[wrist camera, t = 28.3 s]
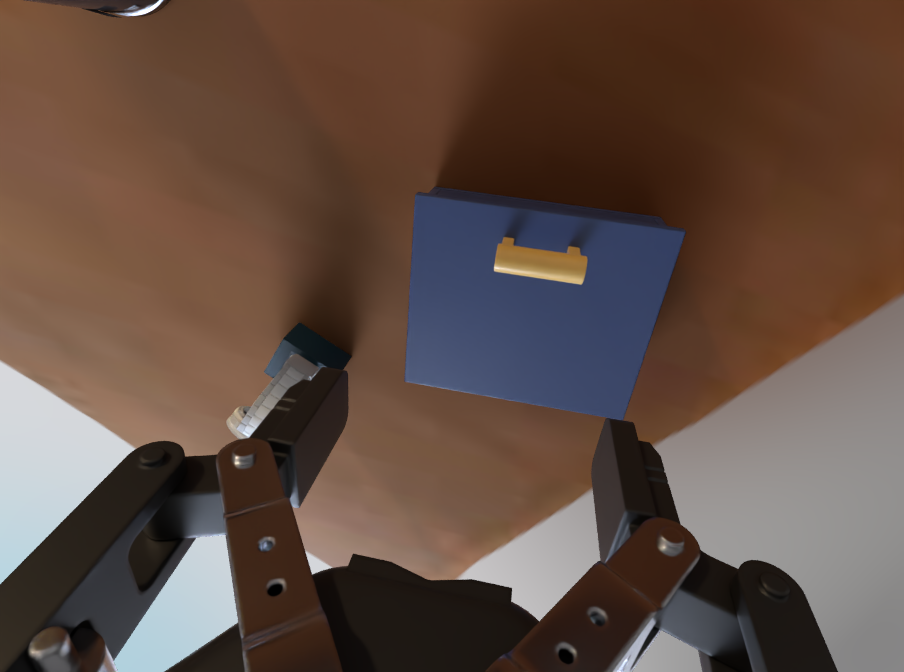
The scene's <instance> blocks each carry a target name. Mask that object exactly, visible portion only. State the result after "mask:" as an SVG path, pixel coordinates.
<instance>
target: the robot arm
mask: <svg viewBox="0 0 904 672" xmlns="http://www.w3.org/2000/svg"><path fill="white" fill-rule="evenodd" d="M25 1H33V2H40V3H48V4H55V5H62V6H70V7H77V8H82V9H86V10H89V11H93V12H96V13H99V14H103V15H106V16H111V17H118V16H115V15H111V14H108V13H104V12H110V13H116V14H119V15H126V16H137V17H139V16H146V15H150V14H153V13H155V12H157V11H159V10H160V9H162V8H163V7H164V6H165V5H166V4H167V3H168V2H169V1H170V0H25ZM98 10H101V11H103V12H101V11H98ZM119 18H121V17H119ZM347 417H348V374H347V371H345V370H339V369H334V368H328V367H322V368H321V369H320V370H319V371H318V373H317V374H316V375H315V377H314V378H313V379H312V380H311V381H310V380H305V379H303V380H301V381H300V382H298V383H296V384H294V385H293V386H291V387H289V389H288V390H287V391H286V392H285V394H284V395H283V396H282V397H281V400H279V401H278V402H277V404H276V405H275V406H274V409H272V410H271V411H270V412H269V413H268V415H267V416H266V417H265V418H264V420H263V421H262V422H261V423H260V424H259V426H258V427H257V428H256V429H255V431H254V432H253V433H252V434H251V436H250V437H249V438H244V439H240V440H236V441H234V442H231V443H229V444H228V445H226V446H225V447H223V448H222V449H221V450H220V452H219V453H218V455H207V456H188V457H185V454H184V450H183V448H182V447H181V446H180V445H179V444H177V443H174V442H170V441H158V442H153V443H149V444H146V445H143V446H141V447H139V448H137V449H135V450H134V451H132V452H131V453H130V454H129V455H128V456H127V457H126V458H125V459H124V460H123V461H122V462H121V463H120V464H119V465H118V466H117V467H116V468H115V469H114V470H113V471H112V472H111V473H110V474H109V475H108V476H107V477H106V478H105V479H104V480H103V481H102V482H101V483H100V484H99V485H98V486H97V487H96V488H95V489H94V490H93V491H92V492H91V493H90V494H89V495H88V496H87V497H86V498H85V499H84V500H83V501H82V502H81V503H80V504H79V505H78V506H77V507H76V508H75V509H74V510H73V511H72V512H71V513H70V514H69V516H67V517H66V519H64V520H63V522H61V523H60V524H59V525H58V527H57V528H56V529H55V530H54V531H53V532H52V533H51V534H50V535H49V536H48V537H47V538H46V539H45V540H44V541H43V542H42V543H41V544H40V545H39V546H38V547H37V548H36V549H35V550H34V551H33V552H32V553H31V554H30V555H29V556H28V557H27V558H26V559H25V560H24V561H23V562H22V563H21V564H20V565H19V566H18V567H17V568H16V569H15V570H14V571H13V572H12V573H11V574H10V575H9V576H8V577H7V578H6V579H5V580H4V581H3V582H2V583H1V584H0V672H118V671H117V668H116V666H115V664H114V659H115V658H116V656H117V655H118V653H119V652H120V651H121V649H122V648H123V646H124V644H125V643H126V642H127V640H128V639H129V637H130V636H131V634H132V633H133V631H134V630H135V628H136V627H137V625H138V623H139V622H140V621H141V619H142V618H143V616H144V615H145V613H146V612H147V610H148V609H149V607H150V605H151V604H152V603H153V601H154V600H155V598H156V597H157V595H158V594H159V592H160V591H161V589H162V588H163V586H164V585H165V583H166V582H167V580H168V578H169V577H170V576H171V574H172V573H173V571H174V570H175V569H176V567H177V566H178V564H179V563H180V561H181V560H182V558H183V557H184V555H185V554H186V552H187V550H188V549H189V548H190V546H191V545H192V543H193V542H194V540H195V539H196V537H207V536H219V535H226V541H227V548H228V555H229V562H230V568H231V575H232V582H233V588H234V596H235V603H236V609H237V616H238V623H237V624H235V625H234V626H232V627H231V628H229V629H228V630H226V631H225V632H223V633H222V634H220V635H219V636H217V637H216V638H215V639H213V640H211V641H210V642H208V643H207V644H205V645H204V646H202V647H201V648H199V649H198V650H196V651H195V652H193V653H192V654H190V655H189V656H187V657H186V658H184V659H183V660H181V661H180V662H179V663H177V664H175V665H174V666H172V667H171V668H169V669H168V670H166V671H165V672H632V671H633V670H634V668H635V667H636V665H637V664H638V663H639V661H640V660H641V658H642V657H643V655H644V654H645V653H646V651H647V650H648V648H649V647H650V646H651V644H652V643H653V641H654V640H655V638H656V637H657V636H658V634H659V633H660V631H661V630H662V631H664V632H666V633H668V634H670V635H671V636H673V637H675V638H677V639H679V640H681V641H683V642H685V643H687V644H688V645H690V646H692V647H694V648H696V649H698V652H699V657H700V662H701V666H702V671H703V672H838V671H837V668H836V666H835V664H834V661H833V659H832V657H831V654H830V652H829V650H828V647H827V645H826V643H825V640H824V638H823V636H822V634H821V631H820V629H819V626H818V624H817V622H816V619H815V617H814V615H813V612H812V610H811V608H810V606H809V603H808V601H807V599H806V596H805V594H804V592H803V590H802V589H801V588H800V586H799V585H798V584H797V583H796V582H795V580H793V579H792V578H791V577H790V576H789V575H788V574H787V573H785V572H784V571H782V570H781V569H779V568H777V567H776V566H774V565H771V564H769V563H766V562H763V561H758V560H750V561H746V562H744V563H743V564H741V566H740V567H739V569H737V568H735V567H732V566H730V565H728V564H726V563H724V562H721V561H719V560H717V559H715V558H713V557H711V556H709V555H707V554H706V553H704V552H702V551H701V550H700V547H699V544H698V542H697V540H696V539H695V537H694V536H693V535H692V534H691V533H690V532H689V531H688V530H687V529H686V528H684V527H683V526H682V525H680V521H679V518H678V514H677V511H676V508H675V504H674V501H673V497H672V494H671V490H670V488H669V484H668V480H667V477H666V473H664V467H663V463H662V460H661V456H660V455H659V454H658V453H657V451H656V450H655V449H654V448H653V446H652V445H651V444H650V443H649V442H643V441H638V437H637V433H636V429H635V425H634V423H633V422H628V421H623V420H617V419H611V418H607V419H606V420H605V422H604V425H603V429H602V432H601V435H600V438H599V441H598V444H597V448H596V451H595V454H594V458H593V462H592V486H593V495H594V503H595V513H596V522H597V532H598V540H599V550H600V558H601V561H598V562H597V563H596V564H594V565H593V566H592V568H590V569H589V571H588V572H587V573H586V574H585V575H584V576H583V577H582V578H581V579H580V580H579V581H578V582H577V583H576V584H575V585H574V586H573V587H572V588H571V589H570V590H569V591H568V592H567V594H565V595H564V596H563V598H562V599H561V600H560V601H559V602H558V603H557V604H556V605H555V606H554V607H553V608H552V609H551V610H550V611H549V612H548V613H547V614H546V615H545V616H544V617H543V618H542V619H541V620H540V621H538V620H537V619H536V618H535V617H534V616H533V615H531V614H530V613H529V612H528V611H526V610H525V609H523V608H522V607H520V606H519V605H517V604H515V603H513V602H511V595H512V588H509V587H504V586H500V585H495V584H491V583H486V582H481V581H477V580H472V579H469V580H427V579H425V578H423V577H421V576H419V575H417V574H415V573H413V572H411V571H408V570H406V569H404V568H402V567H400V566H398V565H396V564H394V563H392V562H389V561H385V560H380V559H375V558H371V557H366V556H361V555H357V554H353V555H352V558H351V560H350V563H349V565H348V566H342V567H336V568H331V569H327V570H323V571H320V572H318V573H315V574H313V575H312V573H311V570H310V566H309V563H308V560H307V557H306V553H305V549H304V546H303V543H302V539H301V536H300V532H299V529H298V525H297V522H296V519H295V515H294V512H293V508H292V507H296V508H299V507H300V506H301V504H302V502H303V500H304V498H305V497H306V495H307V493H308V491H309V490H310V488H311V486H312V484H313V483H314V481H315V479H316V477H317V475H318V474H319V472H320V470H321V468H322V467H323V465H324V463H325V461H326V460H327V458H328V456H329V454H330V452H331V451H332V449H333V447H334V445H335V444H336V442H337V440H338V438H339V437H340V435H341V433H342V431H343V429H344V427H345V425H346V421H347Z"/></svg>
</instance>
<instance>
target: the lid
mask: <svg viewBox="0 0 904 672" xmlns="http://www.w3.org/2000/svg"><path fill="white" fill-rule="evenodd" d="M685 234H686V231H685V230H684V229H683V228H677V227H670V226H662V225H655V224H648V223H640V222H633V221H626V220H619V219H611V218H604V217H597V216H589V215H582V214H575V213H567V212H560V211H553V210H545V209H538V208H531V207H523V206H516V205H509V204H502V203H494V202H487V201H480V200H472V199H465V198H458V197H450V196H443V195H436V194H428V193H421V192H418V193H417V194H416V195H415V208H414V226H413V243H412V261H411V278H410V295H409V313H408V330H407V348H406V365H405V382H410V383H416V384H422V385H427V386H433V387H438V388H444V389H450V390H455V391H461V392H467V393H472V394H478V395H484V396H489V397H495V398H500V399H506V400H512V401H517V402H523V403H529V404H534V405H540V406H545V407H551V408H557V409H562V410H568V411H574V412H579V413H585V414H591V415H596V416H602V417H607V418H613V419H619V420H623V419H624V416H625V413H626V410H627V407H628V404H629V401H630V398H631V395H632V392H633V389H634V386H635V383H636V380H637V377H638V374H639V371H640V368H641V365H642V362H643V359H644V356H645V353H646V350H647V347H648V344H649V341H650V338H651V335H652V332H653V329H654V326H655V323H656V320H657V317H658V314H659V311H660V308H661V305H662V302H663V299H664V296H665V293H666V290H667V287H668V284H669V281H670V278H671V275H672V272H673V269H674V266H675V263H676V260H677V257H678V254H679V251H680V248H681V245H682V242H683V240H684V237H685Z"/></svg>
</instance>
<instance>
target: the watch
mask: <svg viewBox="0 0 904 672" xmlns="http://www.w3.org/2000/svg"><path fill="white" fill-rule="evenodd" d="M351 357H352V356H350V355H349V354H347V353H346V352H344V351H343V350H341V349H340V348H338V347H337V346H335V345H334V344H332V343H331V342H329V341H328V340H326V339H324V338H323V337H321V336H320V335H318V334H317V333H315V332H314V331H312V330H311V329H309V328H308V327H306V326H305V325H303V324H302V323H300V322H299V323H298V324H297V325H296V326H295V327H294V328H293V329H292V330H291V331H290V332H289V333H288V334H287V335H286V336H285V337H284V338H283V340H282V342H281V343H280V345H279V347H278V349H277V350H276V352H275V354H274V356H273V357H272V359H271V361H270V363H269V364H268V366H267V368H266V370H265V371H264V373H266V374H267V375H269V376H271V377H272V378H274V379H273V380H272V381H271V382H270V384H269V385H268V386H267V387H266V389H265V390H264V391H263V392H262V394H261V395H260V396H259V397H258V398H257V400H256V401H255V402H254V404H253V405H252V406H251V407H249V406H240V407H238V408H237V409H236V410H235V411H234V412H233V414H232V415H231V416H230V417H229V418H228V419H227V426H228V428H229V429H230V431H231V432H232V433H233V434H234V435H235V436H236V437H238V438H239V439H244V438H249V437H250V436H251V434H252V433H253V432H254V431H255V429H256V428H257V427H258V426H259V424H260V423H261V422H262V421H263V420H264V418H265V417H266V416H267V415H268V413H269V412H270V411H271V410H272V409H274V406H275V405H276V404H277V402H278V401H279V400H281V397H282V396H283V395H284V394H285V392H286V391H287V390H288V389H289V387H291V386H293V385H294V384H296V383H298V382H300V381H301V380H303V379H305V380H310V381H311V380H312V379H313V378H314V377H315V375H316V374H317V373H318V371H319V370H320V369H321V368H322V367H328V368H334V369H339V370H343V369H344V367H345V366H346V364H347V363H348V361H349V360H350V358H351ZM274 386H275V387H274ZM264 395H265V396H264ZM273 395H274V396H273ZM266 396H267V397H266ZM263 401H264V402H263Z"/></svg>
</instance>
